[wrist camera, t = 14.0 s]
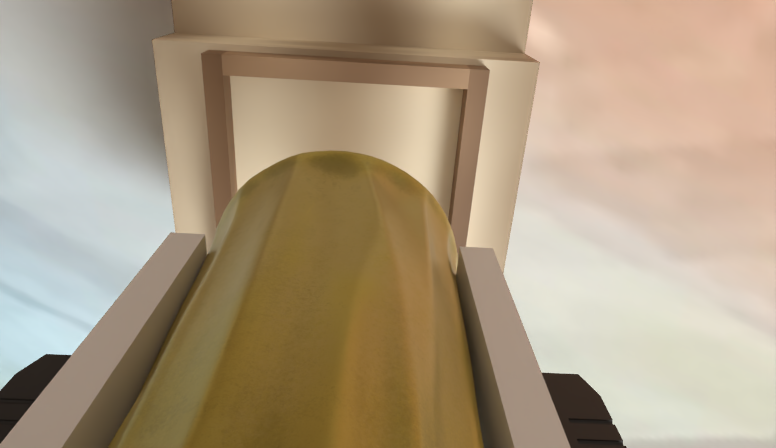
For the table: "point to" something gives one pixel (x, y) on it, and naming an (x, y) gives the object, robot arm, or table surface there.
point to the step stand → (349, 99)
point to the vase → (317, 321)
